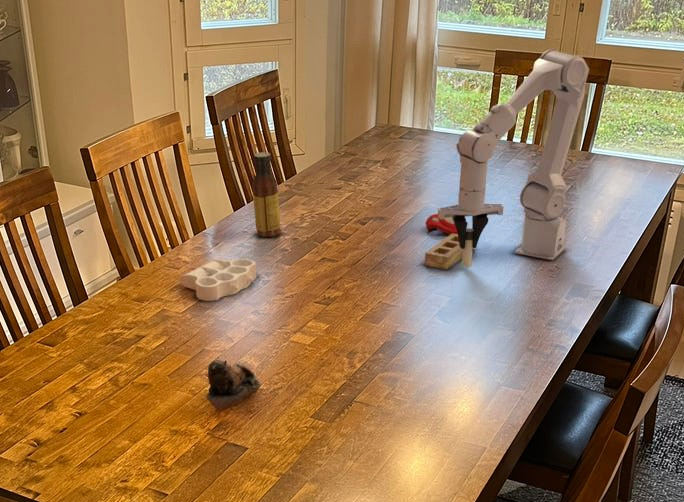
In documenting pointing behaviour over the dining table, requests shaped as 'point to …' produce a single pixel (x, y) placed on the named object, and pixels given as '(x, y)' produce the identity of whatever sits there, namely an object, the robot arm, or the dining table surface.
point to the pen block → (444, 253)
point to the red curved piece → (441, 224)
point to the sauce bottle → (265, 197)
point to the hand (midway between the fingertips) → (467, 246)
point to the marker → (468, 248)
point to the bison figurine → (230, 384)
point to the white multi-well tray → (220, 278)
